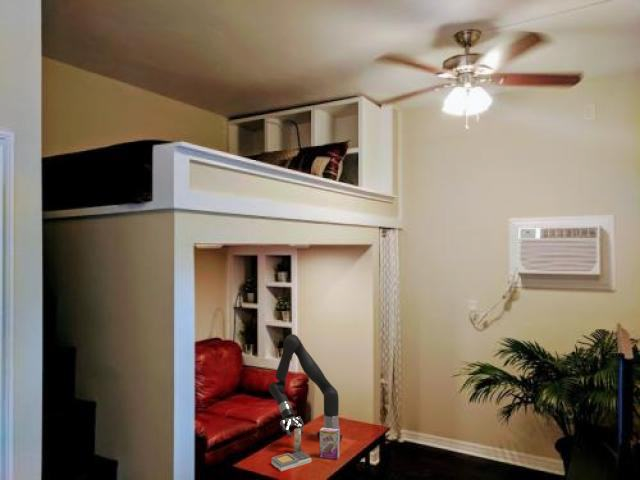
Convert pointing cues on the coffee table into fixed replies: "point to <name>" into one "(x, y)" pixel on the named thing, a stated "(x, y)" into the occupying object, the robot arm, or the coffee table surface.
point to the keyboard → (297, 460)
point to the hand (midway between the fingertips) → (296, 434)
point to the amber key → (284, 459)
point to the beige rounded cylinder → (297, 440)
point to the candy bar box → (329, 443)
